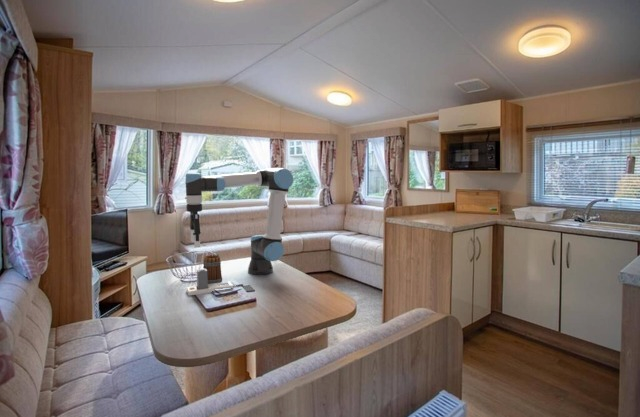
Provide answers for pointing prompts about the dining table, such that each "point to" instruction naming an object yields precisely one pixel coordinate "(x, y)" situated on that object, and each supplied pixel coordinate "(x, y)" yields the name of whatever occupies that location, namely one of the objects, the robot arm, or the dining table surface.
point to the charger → (202, 279)
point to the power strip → (209, 288)
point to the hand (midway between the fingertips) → (195, 244)
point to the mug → (213, 268)
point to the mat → (248, 288)
